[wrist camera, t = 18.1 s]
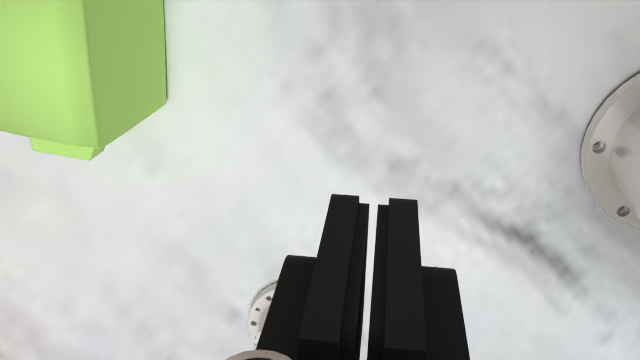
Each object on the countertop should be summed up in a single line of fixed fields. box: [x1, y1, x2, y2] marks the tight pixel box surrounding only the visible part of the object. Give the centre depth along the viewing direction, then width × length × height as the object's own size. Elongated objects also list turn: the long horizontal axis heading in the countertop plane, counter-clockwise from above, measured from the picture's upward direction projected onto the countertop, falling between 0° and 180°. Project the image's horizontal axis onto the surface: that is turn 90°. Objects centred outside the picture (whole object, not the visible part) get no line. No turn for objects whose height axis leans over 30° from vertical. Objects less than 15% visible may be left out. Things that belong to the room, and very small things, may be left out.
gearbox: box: [0, 0, 166, 160], centre depth 33 cm, size 18×10×10 cm, turn 175°
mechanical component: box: [247, 282, 277, 350], centre depth 46 cm, size 10×4×10 cm
